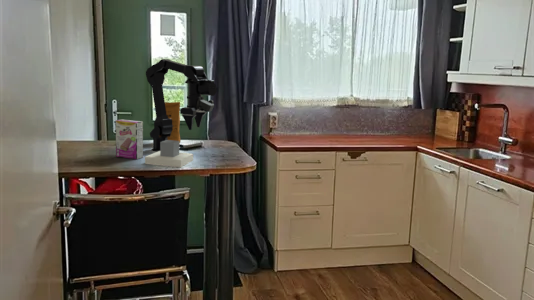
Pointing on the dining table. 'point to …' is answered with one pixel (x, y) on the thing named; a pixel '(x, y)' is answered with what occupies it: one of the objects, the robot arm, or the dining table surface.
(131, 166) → the dining table surface
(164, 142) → the grey cube
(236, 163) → the dining table surface
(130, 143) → the candy bar box
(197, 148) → the dining table surface
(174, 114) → the coffee package
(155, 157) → the base block
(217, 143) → the dining table surface
